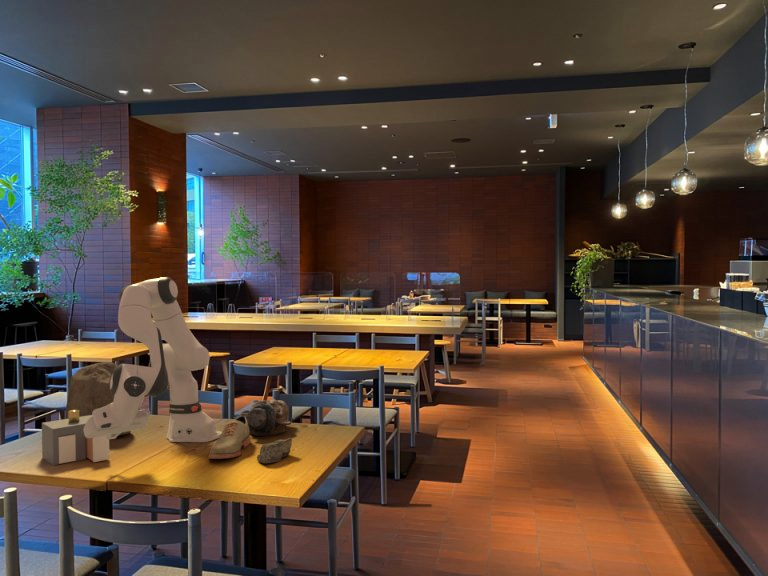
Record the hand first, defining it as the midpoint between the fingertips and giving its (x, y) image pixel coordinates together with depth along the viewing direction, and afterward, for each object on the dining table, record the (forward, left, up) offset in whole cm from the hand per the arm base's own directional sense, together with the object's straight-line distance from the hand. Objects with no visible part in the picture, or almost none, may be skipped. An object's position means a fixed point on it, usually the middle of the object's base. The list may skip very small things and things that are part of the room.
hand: (110, 437), depth 209 cm
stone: (+38, -42, -11) cm, 58 cm away
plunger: (+13, -8, -10) cm, 18 cm away
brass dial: (+22, -8, +3) cm, 24 cm away
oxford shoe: (-31, -26, -11) cm, 42 cm away
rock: (-51, -23, -11) cm, 57 cm away
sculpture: (-31, -57, -11) cm, 66 cm away
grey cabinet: (+22, -8, -10) cm, 26 cm away
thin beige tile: (+24, -3, -10) cm, 26 cm away
